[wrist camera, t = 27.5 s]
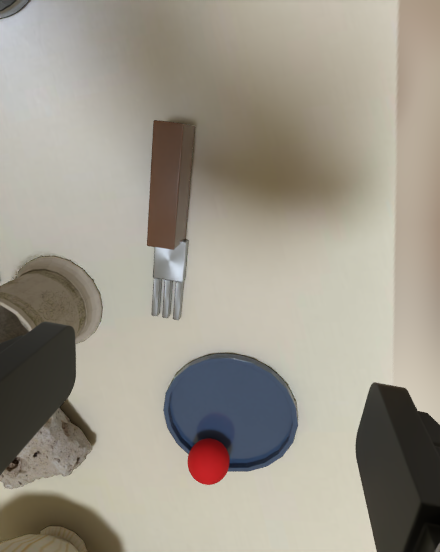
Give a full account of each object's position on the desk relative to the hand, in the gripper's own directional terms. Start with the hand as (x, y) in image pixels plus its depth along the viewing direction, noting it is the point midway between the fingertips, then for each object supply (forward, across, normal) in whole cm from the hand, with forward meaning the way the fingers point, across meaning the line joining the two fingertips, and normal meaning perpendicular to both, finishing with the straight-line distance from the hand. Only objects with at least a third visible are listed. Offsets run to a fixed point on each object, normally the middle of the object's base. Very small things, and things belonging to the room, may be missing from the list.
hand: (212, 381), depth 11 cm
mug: (+26, +22, +13) cm, 37 cm away
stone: (+26, +22, +29) cm, 45 cm away
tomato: (+24, +2, +26) cm, 35 cm away
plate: (+26, +1, +21) cm, 34 cm away
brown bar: (+26, +8, +2) cm, 27 cm away
